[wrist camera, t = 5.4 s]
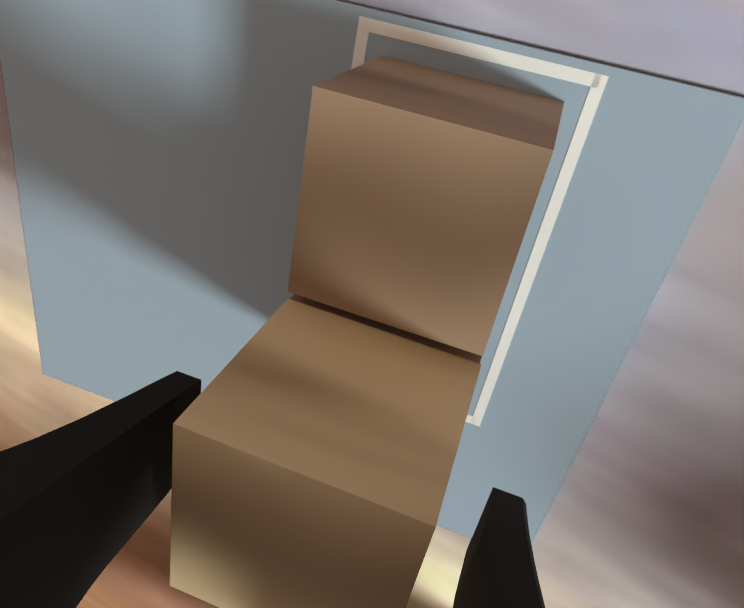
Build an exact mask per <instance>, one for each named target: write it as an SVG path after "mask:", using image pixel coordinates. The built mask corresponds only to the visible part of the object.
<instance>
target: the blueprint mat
mask: <svg viewBox="0 0 744 608" xmlns="http://www.w3.org/2000/svg"><path fill="white" fill-rule="evenodd" d="M381 56H386V57H390V58H394V59H398V60H402V61H406V62H410V63H414V64H418V65H422V66H426V67H430V68H434V69H438V70H442V71H446V72H450V73H454V74H458V75H462V76H465V77H469V78H473V79H477V80H481V81H485V82H489V83H493V84H497V85H501V86H505V87H509V88H513V89H517V90H521V91H525V92H529V93H533V94H537V95H541V96H545V97H549V98H553V99H557V100H561V101H564V105H563V110H562V114H561V119H560V124H559V128H558V133H557V137H556V142H555V146H554V151H553V154H552V156H551V159H550V162H549V165H548V168H547V171H546V174H545V177H544V180H543V183H542V185H541V188H540V191H539V194H538V197H537V200H536V203H535V206H534V209H533V212H532V214H531V217H530V220H529V223H528V226H527V229H526V232H525V235H524V238H523V241H522V244H521V246H520V249H519V252H518V255H517V258H516V261H515V264H514V267H513V270H512V273H511V275H510V278H509V281H508V284H507V287H506V290H505V293H504V296H503V299H502V302H501V304H500V307H499V310H498V313H497V316H496V319H495V322H494V325H493V328H492V331H491V334H490V336H489V339H488V342H487V345H486V348H485V351H484V354H483V356H482V358H481V362H480V364H481V368H480V372H479V375H478V379H477V382H476V386H475V389H474V393H473V397H472V400H471V404H470V407H469V411H468V414H467V418H466V421H465V425H464V428H463V432H462V436H461V439H460V443H459V446H458V450H457V453H456V457H455V460H454V464H453V467H452V471H451V474H450V478H449V482H448V485H447V489H446V492H445V496H444V499H443V503H442V506H441V510H440V513H439V517H438V521H437V524H436V525H437V526H440V527H443V528H445V529H448V530H450V531H453V532H456V533H458V534H461V535H463V536H466V537H469V538H471V539H472V536H473V534H474V532H475V529H476V527H477V524H478V522H479V519H480V517H481V515H482V512H483V510H484V507H485V505H486V503H487V500H488V498H489V495H490V493H491V491H492V488H493V487H494V488H497V489H500V490H503V491H505V492H508V493H511V494H513V495H516V496H519V497H522V498H523V499H524V501H525V503H526V508H527V518H528V526H529V533H530V540H531V543H532V541H533V539H534V537H535V535H536V533H537V531H538V529H539V527H540V525H541V523H542V521H543V519H544V517H545V515H546V513H547V511H548V509H549V507H550V505H551V503H552V501H553V499H554V497H555V495H556V493H557V491H558V489H559V487H560V485H561V483H562V481H563V479H564V477H565V475H566V473H567V471H568V469H569V467H570V465H571V463H572V461H573V459H574V457H575V455H576V453H577V451H578V449H579V447H580V445H581V443H582V441H583V439H584V437H585V435H586V433H587V431H588V429H589V427H590V425H591V423H592V421H593V419H594V417H595V415H596V413H597V411H598V409H599V407H600V405H601V403H602V401H603V399H604V397H605V395H606V393H607V391H608V389H609V387H610V385H611V383H612V381H613V379H614V377H615V375H616V373H617V371H618V369H619V367H620V365H621V363H622V361H623V359H624V357H625V355H626V353H627V351H628V349H629V347H630V345H631V343H632V341H633V339H634V337H635V335H636V333H637V331H638V329H639V327H640V325H641V323H642V321H643V319H644V317H645V315H646V313H647V311H648V309H649V307H650V305H651V303H652V301H653V299H654V297H655V295H656V293H657V291H658V289H659V287H660V285H661V283H662V281H663V279H664V277H665V275H666V273H667V271H668V269H669V267H670V265H671V263H672V261H673V259H674V257H675V255H676V253H677V251H678V249H679V247H680V245H681V243H682V241H683V239H684V237H685V235H686V233H687V231H688V229H689V227H690V225H691V223H692V221H693V219H694V217H695V215H696V213H697V211H698V209H699V207H700V205H701V203H702V201H703V199H704V197H705V195H706V193H707V191H708V189H709V187H710V185H711V183H712V181H713V179H714V177H715V175H716V173H717V171H718V169H719V167H720V165H721V163H722V161H723V159H724V157H725V155H726V153H727V151H728V149H729V147H730V145H731V143H732V141H733V139H734V137H735V135H736V133H737V131H738V129H739V127H740V125H741V123H742V121H743V119H744V97H741V96H736V95H732V94H728V93H724V92H720V91H715V90H711V89H707V88H703V87H699V86H695V85H690V84H686V83H682V82H678V81H674V80H669V79H665V78H661V77H657V76H653V75H649V74H644V73H640V72H636V71H632V70H628V69H623V68H619V67H615V66H611V65H607V64H603V63H598V62H594V61H590V60H586V59H582V58H577V57H573V56H569V55H565V54H561V53H557V52H552V51H548V50H544V49H540V48H536V47H531V46H527V45H523V44H519V43H515V42H511V41H506V40H502V39H498V38H494V37H490V36H485V35H481V34H477V33H473V32H469V31H465V30H460V29H456V28H452V27H448V26H444V25H440V24H435V23H431V22H427V21H423V20H419V19H414V18H410V17H406V16H402V15H398V14H394V13H389V12H385V11H381V10H377V9H373V8H368V7H364V6H360V5H356V4H352V3H348V2H343V1H339V0H0V61H1V68H2V75H3V83H4V90H5V98H6V105H7V112H8V120H9V127H10V134H11V142H12V149H13V157H14V164H15V171H16V179H17V186H18V193H19V201H20V208H21V215H22V223H23V230H24V238H25V245H26V252H27V260H28V267H29V274H30V282H31V289H32V297H33V304H34V311H35V319H36V326H37V333H38V341H39V348H40V355H41V363H42V370H43V374H45V375H48V376H50V377H53V378H56V379H58V380H61V381H63V382H66V383H69V384H71V385H74V386H76V387H79V388H82V389H84V390H87V391H89V392H92V393H95V394H97V395H100V396H102V397H105V398H108V399H110V400H113V401H115V402H116V401H118V400H120V399H122V398H124V397H126V396H128V395H130V394H132V393H134V392H136V391H138V390H140V389H142V388H143V387H145V386H147V385H149V384H151V383H153V382H155V381H157V380H159V379H161V378H163V377H165V376H167V375H169V374H171V373H174V372H176V371H179V372H182V373H185V374H187V375H190V376H193V377H195V378H198V379H201V393H202V392H203V390H204V389H205V388H206V387H207V386H208V385H209V384H210V383H211V382H212V381H213V380H214V378H215V377H216V376H217V375H218V374H219V373H220V372H221V371H222V370H223V369H224V368H225V366H226V365H227V364H228V363H229V362H230V361H231V360H232V359H233V358H234V357H235V356H236V354H237V353H238V352H239V351H240V350H241V349H242V348H243V347H244V346H245V345H246V344H247V343H248V341H249V340H250V339H251V338H252V337H253V336H254V335H255V334H256V333H257V332H258V331H259V329H260V328H261V327H262V326H263V325H264V324H265V323H266V322H267V321H268V320H269V319H270V317H271V316H272V315H273V314H274V313H275V312H276V311H277V310H278V309H279V308H280V307H281V305H282V304H283V303H284V302H285V301H286V300H287V299H290V298H291V297H292V296H293V295H294V294H293V293H290V292H287V291H288V283H289V275H290V267H291V259H292V251H293V242H294V234H295V226H296V218H297V210H298V202H299V194H300V186H301V178H302V170H303V162H304V153H305V145H306V137H307V129H308V121H309V113H310V105H311V97H312V89H313V86H314V85H316V84H318V83H321V82H323V81H325V80H328V79H330V78H332V77H335V76H337V75H339V74H342V73H344V72H346V71H349V70H351V69H353V68H356V67H358V66H360V65H363V64H365V63H367V62H369V61H372V60H374V59H376V58H379V57H381Z"/></svg>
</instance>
